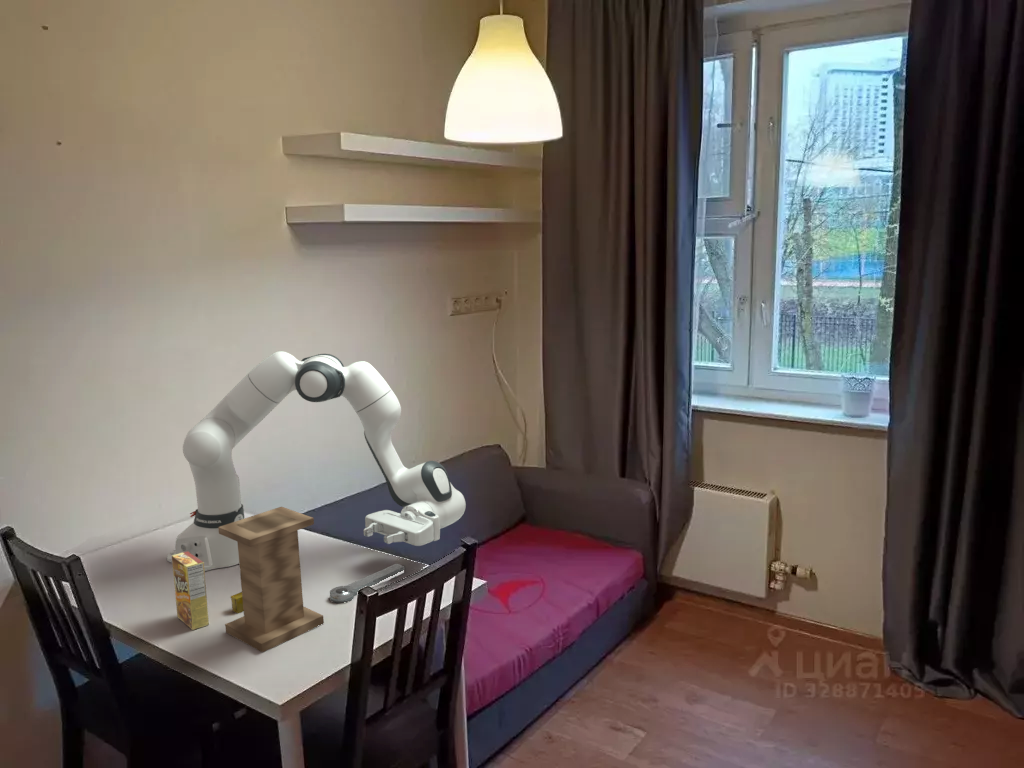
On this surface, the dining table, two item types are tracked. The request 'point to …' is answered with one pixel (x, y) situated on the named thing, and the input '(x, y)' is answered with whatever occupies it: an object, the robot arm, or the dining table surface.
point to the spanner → (362, 584)
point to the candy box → (190, 590)
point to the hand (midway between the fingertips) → (375, 536)
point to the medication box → (237, 603)
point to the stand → (270, 578)
